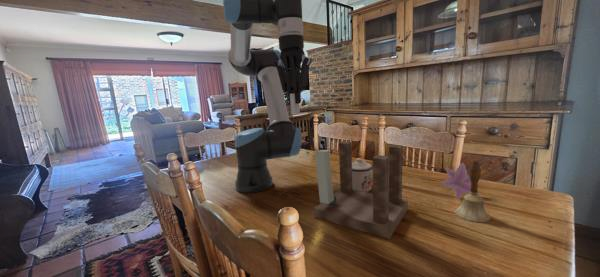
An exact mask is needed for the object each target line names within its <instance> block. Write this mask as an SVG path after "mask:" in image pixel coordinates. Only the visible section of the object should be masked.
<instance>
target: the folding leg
mask: <svg viewBox="0 0 600 277" xmlns="http://www.w3.org/2000/svg"><path fill="white" fill-rule="evenodd" d="M330 156H331V154H330V149H319V150H317V151H315V152H314V159H315V164H316V165H315V167H316V176H317V186H318V195H319V196H318V197H319V204H320V203H326V204H330V203H331V202H332V201H333V200H334V195H333V194H334V186H333V176H332V175H333V174H332V166H331V157H330Z"/></svg>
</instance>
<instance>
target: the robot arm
mask: <svg viewBox="0 0 600 277" xmlns="http://www.w3.org/2000/svg"><path fill="white" fill-rule="evenodd" d="M222 4H223V16H224V21H225V22H226V23H229V24H230V49H229V50H228V55H227V56H228V61H229V64H230V65H231V67H232V68H233V69H234V70H235V71H237V72H238V73H240V74H241V75H244V76H248V77H249V76H250V77H251V76H252V77H253V76H257V80H259V81H260V82H261V83H262V89H263V94H264V100H265V104H266V109H267V116H268V120H269V121H268V122H269V125H268V126H267V129H266V130H265V129H264V128H263V127H257V128H249V129H247V130H242V131H240V132H238V133H236V134H235V136H234V143H235V144H234V147H235V152H236V163H237V173H236V180H235V185H234V186H235V190H236V191H238V192H239V193H244V194H245V193H247V194H249V193H250V194H251V193H257V192H258V193H260V192H262V191H265V190H268V189H270V188H271V187H272V186H273V184H274V182H273V177H272V176H271V172H270V170H269V168H268V162H267V160H274V159H281V158H290V157H294V156H297V155H299V154H300V152H301V150H302V149H301V148H302V131H301V129H300V128H299V127H295V123H294V122H293V121H291V119H290V117H289V113H288V108H287V104H286V99H285V94H284V92H285V93H287V96H288V98H287V99H288V104H290V115H291V116H292V115H300V114H301V111H300V108H301V107H300V104H301V103H302V96H301V95H302V94H301V93H302V92H304V91H306V90H307V84H308V78H309V71H310V66H311V63H312V61H313V59H312V58H311V57H307V56H306V55H305V52H304V48H305V44H304V41H305V40H304V36H303V34H304V22H303V4H302V0H222ZM254 24H272V25H274V26H276V27H277V35H278V36H279V37H278V49H279V50H278V49H271V48H270V49H250V48H251V41H252V33H253V26H254Z"/></svg>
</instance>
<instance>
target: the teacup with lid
mask: <svg viewBox="0 0 600 277" xmlns="http://www.w3.org/2000/svg"><path fill="white" fill-rule="evenodd" d="M372 170H373V165H372V164H371V163H369V162H366V161H364V160H363V159H362V158H361V157H358V158H356V160H354V161H352V187H353V190H357V191H363V192H368V193H370V191H372V190H373V181H372Z"/></svg>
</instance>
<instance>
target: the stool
mask: <svg viewBox="0 0 600 277" xmlns="http://www.w3.org/2000/svg"><path fill="white" fill-rule="evenodd" d="M352 148H353V147H352V141H346V140H345V141H344V140H342V141H340V142H339V143H338V153H339V154H338V157H339V158H338V159H339V161H338V162H339V185H340V187H339V189H338V190H336V191H335V192H333V195H334V200H333V201H332V202H331V203H330V204H326V203H320V202H319V204H318V205H316V206H315V207H314V208H313V209H314V210H313V211H314V218H315V219H319V220H322V221H325V222H329V223H333V224H337V225H339V226H344V227H346V228H350V229H353V230H357V231H361V232H363V233H364V232H365V233H368V234H370V235H374V236H378V237H382V238H385V239H388V240H390V239H391V237H392V236H393V234H394V233H395V231H396V230H397V228H398V227H399V225H400V223H401V221H402V219H403V218H404V216H405V215H406V213H407V212H408V211H409V210H408V208H409V200H408V199H403V145H401V144H400V145H399V144H391V145H390V146H388V156H387V155H378V154H377V155H375V156H373V157H372V192H363V191H357V190H353V187H352V162H353V154H352V152H353V150H352Z"/></svg>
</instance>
